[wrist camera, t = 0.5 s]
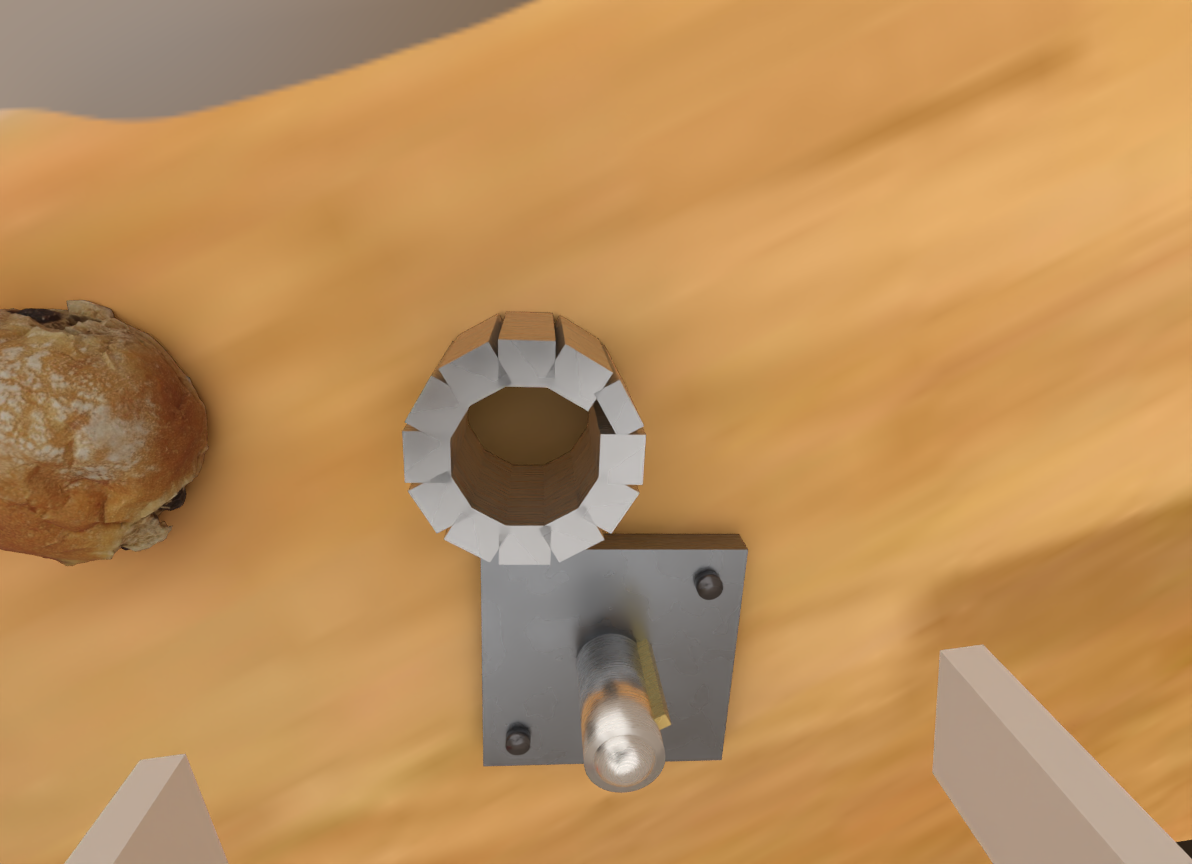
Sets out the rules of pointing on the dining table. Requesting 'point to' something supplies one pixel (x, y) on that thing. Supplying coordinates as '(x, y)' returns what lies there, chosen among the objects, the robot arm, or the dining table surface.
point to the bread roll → (91, 434)
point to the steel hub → (524, 492)
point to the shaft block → (612, 655)
